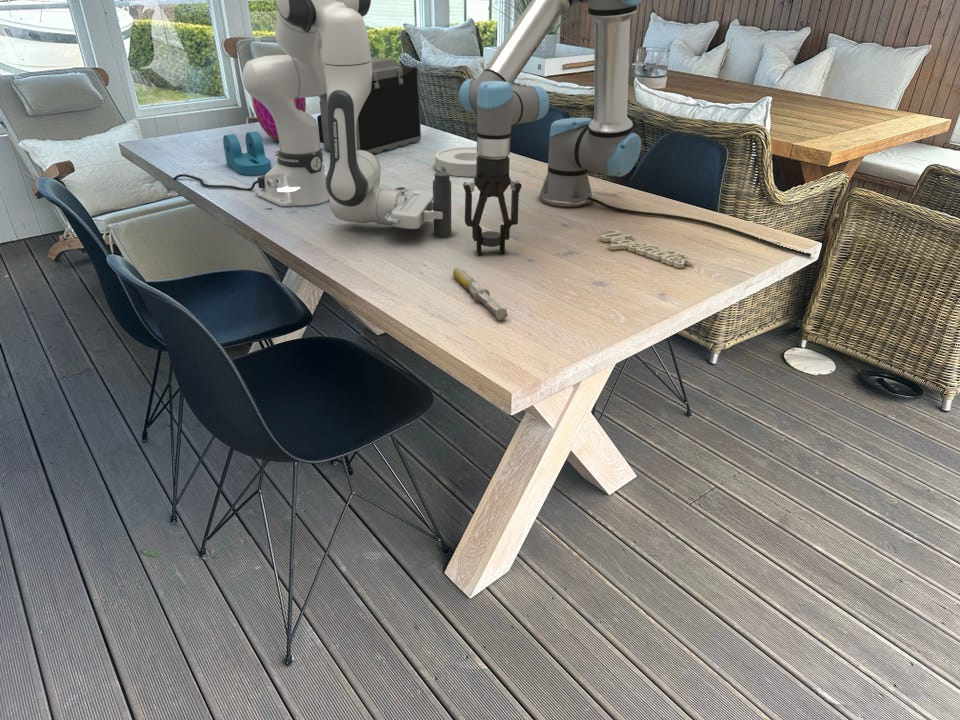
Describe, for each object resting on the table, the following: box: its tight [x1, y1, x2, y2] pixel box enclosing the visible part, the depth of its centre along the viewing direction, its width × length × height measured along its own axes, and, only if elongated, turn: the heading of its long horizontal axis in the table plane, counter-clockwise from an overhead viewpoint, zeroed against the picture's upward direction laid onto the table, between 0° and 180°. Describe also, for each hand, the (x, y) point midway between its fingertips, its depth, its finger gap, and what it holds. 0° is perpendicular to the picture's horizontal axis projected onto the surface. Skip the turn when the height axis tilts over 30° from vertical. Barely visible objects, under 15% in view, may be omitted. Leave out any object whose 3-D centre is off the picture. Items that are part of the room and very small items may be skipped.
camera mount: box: [222, 131, 272, 176], centre depth 226 cm, size 18×10×10 cm, turn 35°
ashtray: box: [434, 146, 478, 178], centre depth 232 cm, size 23×23×4 cm
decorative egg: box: [251, 54, 307, 141], centre depth 257 cm, size 19×19×30 cm
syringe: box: [452, 266, 509, 321], centre depth 145 cm, size 25×4×3 cm, turn 21°
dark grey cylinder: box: [432, 171, 452, 238], centre depth 173 cm, size 5×5×16 cm
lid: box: [481, 230, 502, 248], centre depth 165 cm, size 5×5×2 cm
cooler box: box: [316, 56, 422, 155], centre depth 250 cm, size 37×22×30 cm, turn 144°
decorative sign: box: [600, 229, 691, 269], centre depth 168 cm, size 26×1×10 cm
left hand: (445, 211), depth 174 cm, fingers closed on dark grey cylinder, 4 cm apart
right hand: (490, 252), depth 166 cm, fingers closed on lid, 5 cm apart
